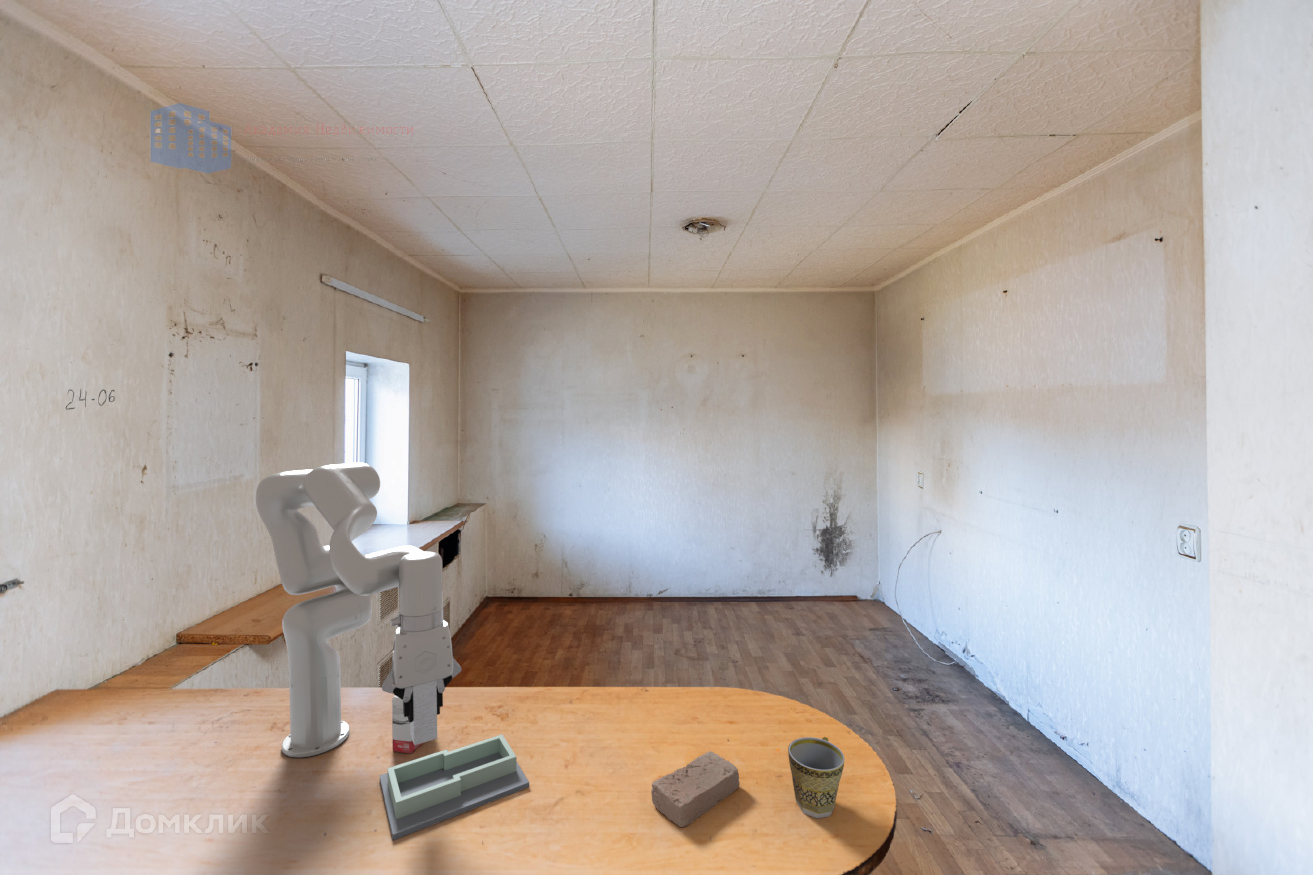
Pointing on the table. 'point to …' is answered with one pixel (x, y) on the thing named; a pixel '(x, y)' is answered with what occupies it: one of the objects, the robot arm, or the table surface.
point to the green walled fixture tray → (449, 784)
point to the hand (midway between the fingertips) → (423, 714)
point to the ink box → (401, 729)
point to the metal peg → (424, 713)
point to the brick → (695, 788)
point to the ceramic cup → (815, 774)
